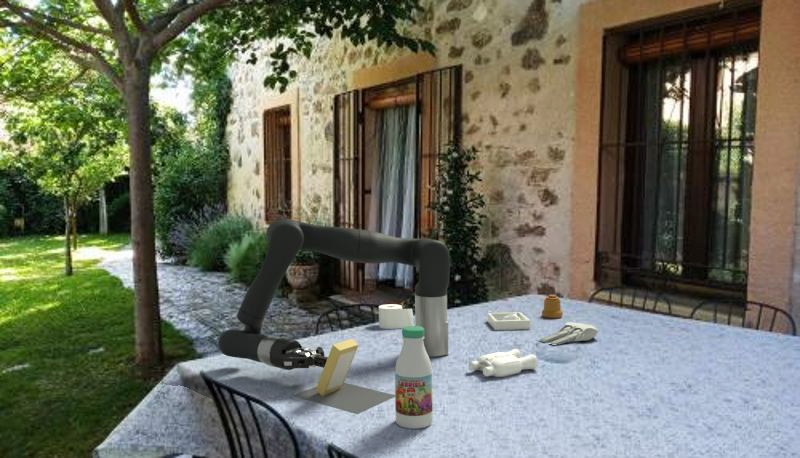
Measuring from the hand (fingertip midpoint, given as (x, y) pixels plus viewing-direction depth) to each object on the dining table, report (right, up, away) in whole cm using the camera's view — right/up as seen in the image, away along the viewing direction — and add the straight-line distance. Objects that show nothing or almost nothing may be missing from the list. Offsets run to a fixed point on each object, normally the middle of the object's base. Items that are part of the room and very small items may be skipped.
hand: (329, 363), depth 147 cm
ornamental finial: (+73, -1, +81) cm, 109 cm away
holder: (+54, -2, +68) cm, 87 cm away
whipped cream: (+55, -2, +68) cm, 87 cm away
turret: (+70, -4, +48) cm, 85 cm away
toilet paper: (+15, -2, +68) cm, 70 cm away
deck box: (0, -6, +1) cm, 7 cm away
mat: (+4, -8, -2) cm, 9 cm away
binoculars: (+44, -6, +17) cm, 47 cm away
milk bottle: (+20, -9, -17) cm, 28 cm away
